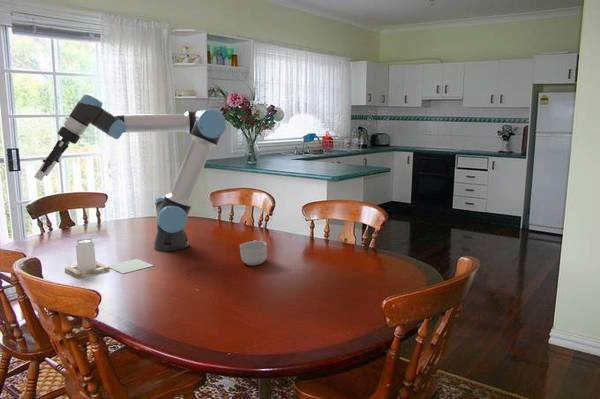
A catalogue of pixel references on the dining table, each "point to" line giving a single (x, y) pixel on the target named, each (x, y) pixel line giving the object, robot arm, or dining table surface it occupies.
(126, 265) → the mat
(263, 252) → the teacup
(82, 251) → the can
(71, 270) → the holder
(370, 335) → the dining table surface
